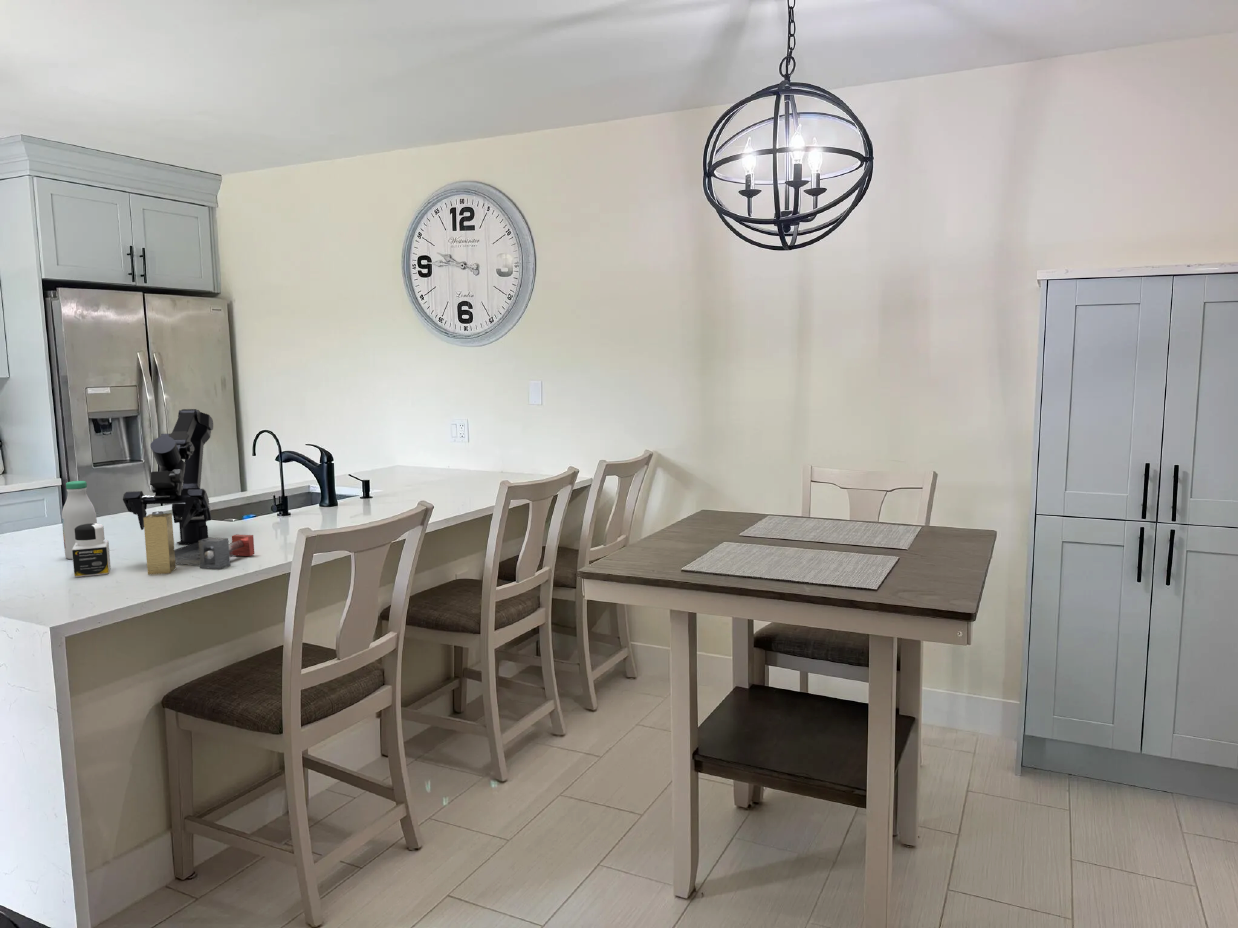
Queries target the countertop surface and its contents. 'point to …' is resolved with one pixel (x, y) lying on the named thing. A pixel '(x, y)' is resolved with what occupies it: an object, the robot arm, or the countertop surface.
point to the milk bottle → (76, 513)
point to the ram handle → (237, 546)
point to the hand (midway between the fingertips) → (162, 527)
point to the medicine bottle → (90, 551)
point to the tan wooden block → (159, 543)
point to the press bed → (189, 555)
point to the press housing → (219, 550)
